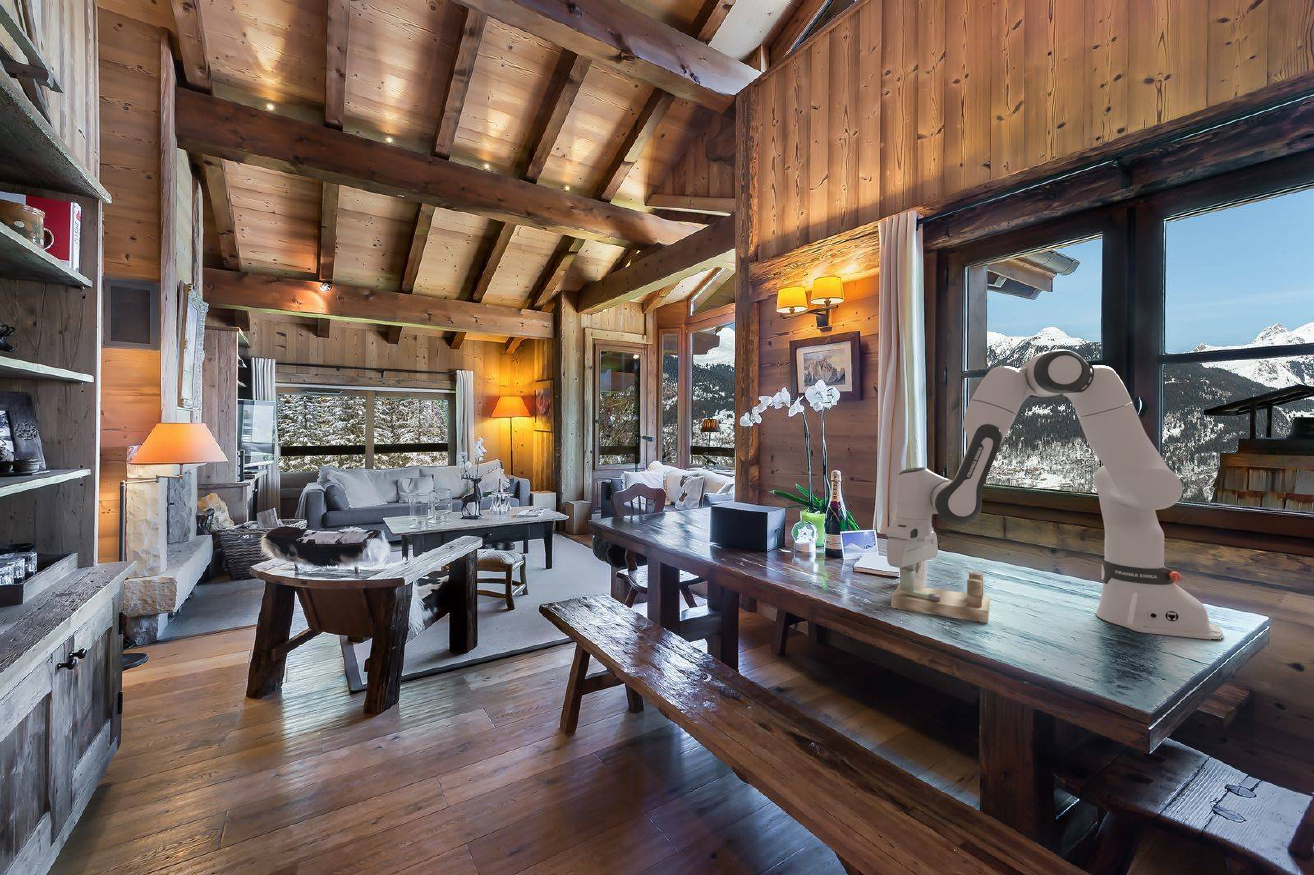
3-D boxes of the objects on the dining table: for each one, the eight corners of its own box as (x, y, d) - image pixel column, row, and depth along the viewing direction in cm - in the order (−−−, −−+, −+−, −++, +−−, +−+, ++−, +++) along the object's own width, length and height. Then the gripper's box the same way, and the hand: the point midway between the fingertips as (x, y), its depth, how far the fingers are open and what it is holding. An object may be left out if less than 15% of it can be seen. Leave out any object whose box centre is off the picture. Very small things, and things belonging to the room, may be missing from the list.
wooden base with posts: (989, 607, 146) (989, 572, 146) (987, 623, 135) (988, 585, 135) (899, 594, 158) (899, 562, 158) (891, 607, 147) (891, 572, 146)
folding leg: (942, 599, 143) (942, 576, 143) (936, 602, 141) (936, 578, 141) (903, 590, 151) (903, 568, 151) (897, 593, 149) (897, 570, 148)
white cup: (921, 582, 170) (921, 549, 170) (931, 589, 163) (932, 555, 162) (895, 581, 171) (895, 549, 171) (903, 589, 163) (904, 555, 163)
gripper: (921, 521, 159) (921, 569, 159) (882, 530, 146) (882, 582, 147) (943, 524, 154) (944, 574, 154) (905, 534, 141) (905, 588, 142)
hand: (913, 578), depth 150 cm, fingers closed
